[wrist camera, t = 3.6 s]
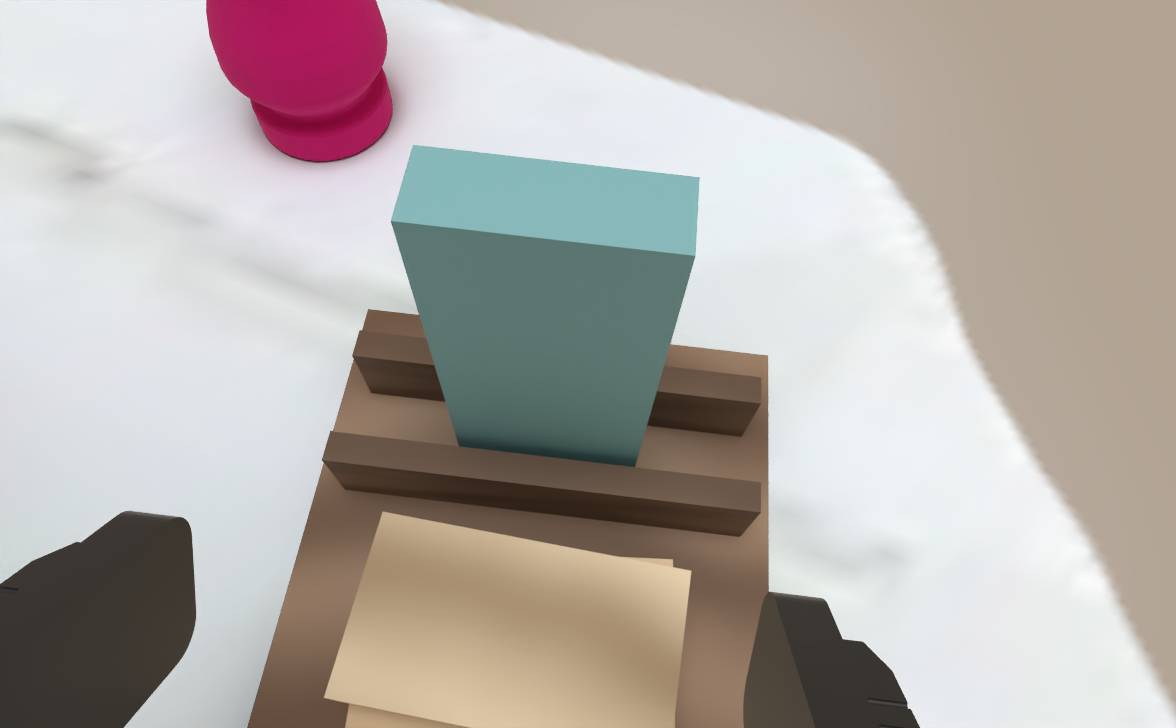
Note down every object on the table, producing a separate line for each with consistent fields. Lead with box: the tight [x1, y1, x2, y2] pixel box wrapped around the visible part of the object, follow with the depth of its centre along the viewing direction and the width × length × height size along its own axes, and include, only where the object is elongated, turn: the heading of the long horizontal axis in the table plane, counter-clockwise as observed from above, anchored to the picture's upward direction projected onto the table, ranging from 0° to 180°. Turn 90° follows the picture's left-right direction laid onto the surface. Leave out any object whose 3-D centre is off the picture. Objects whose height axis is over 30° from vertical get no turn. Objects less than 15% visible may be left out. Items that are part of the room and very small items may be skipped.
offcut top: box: [324, 512, 691, 728], centre depth 21 cm, size 5×9×2 cm, turn 80°
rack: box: [247, 309, 769, 728], centre depth 25 cm, size 17×16×4 cm
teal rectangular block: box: [391, 145, 699, 467], centre depth 21 cm, size 2×6×14 cm, turn 84°
